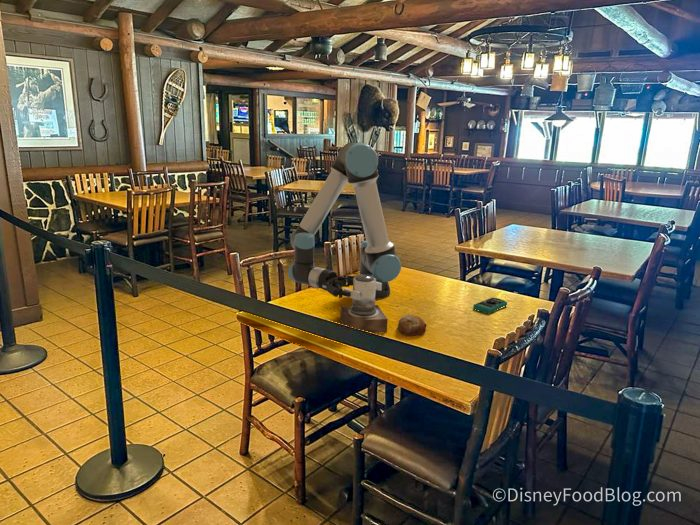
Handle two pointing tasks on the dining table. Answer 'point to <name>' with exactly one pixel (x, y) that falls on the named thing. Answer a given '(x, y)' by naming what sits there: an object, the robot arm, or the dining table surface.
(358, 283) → the cylinder
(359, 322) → the stand
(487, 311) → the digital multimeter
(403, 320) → the bread roll
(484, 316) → the dining table surface
